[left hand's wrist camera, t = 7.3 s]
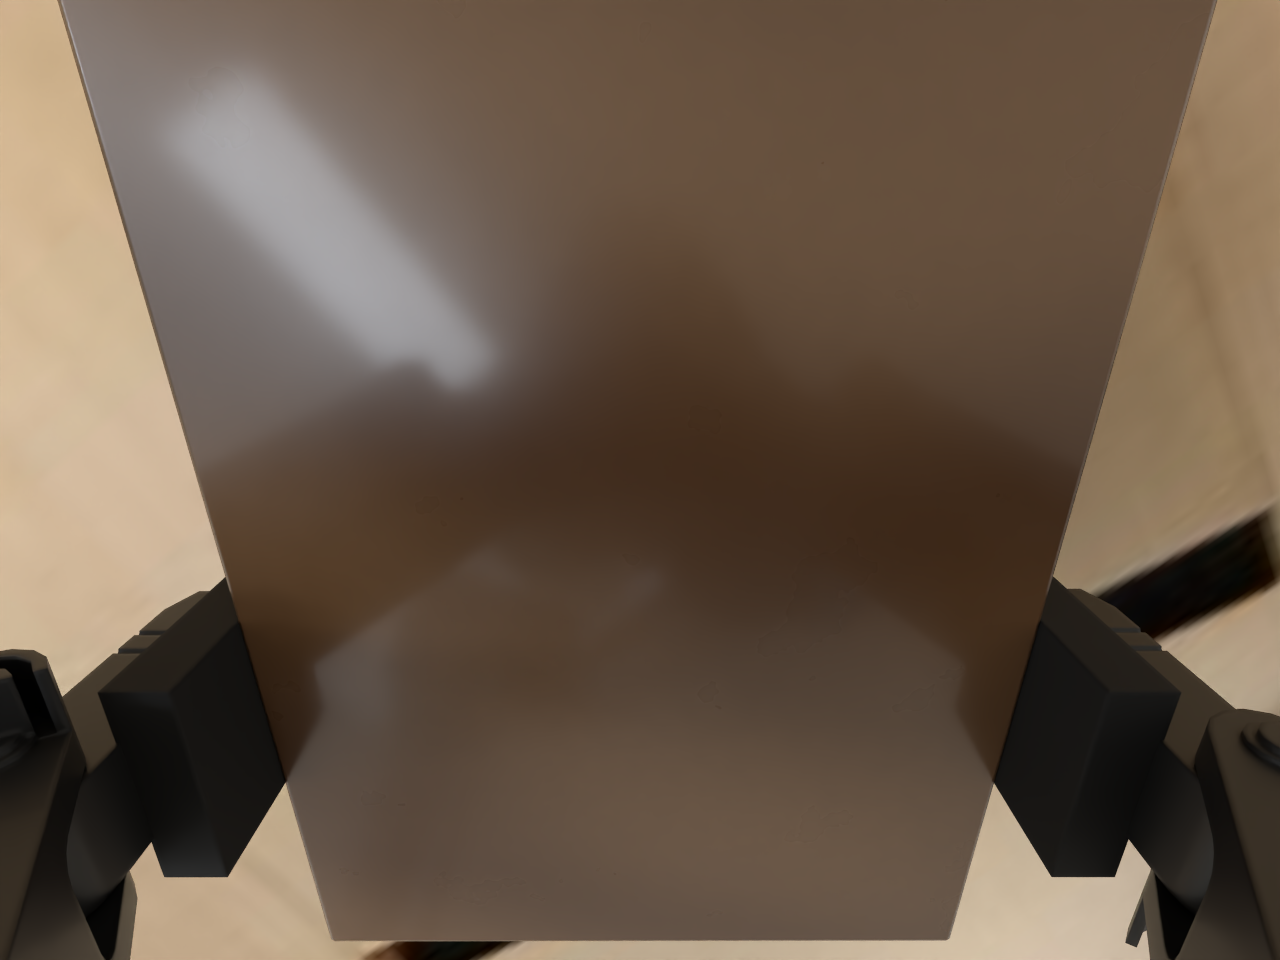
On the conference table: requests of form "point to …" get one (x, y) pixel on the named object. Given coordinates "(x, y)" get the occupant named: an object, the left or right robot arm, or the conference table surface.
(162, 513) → the conference table surface
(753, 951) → the conference table surface
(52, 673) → the left robot arm
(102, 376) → the conference table surface
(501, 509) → the cabinet
